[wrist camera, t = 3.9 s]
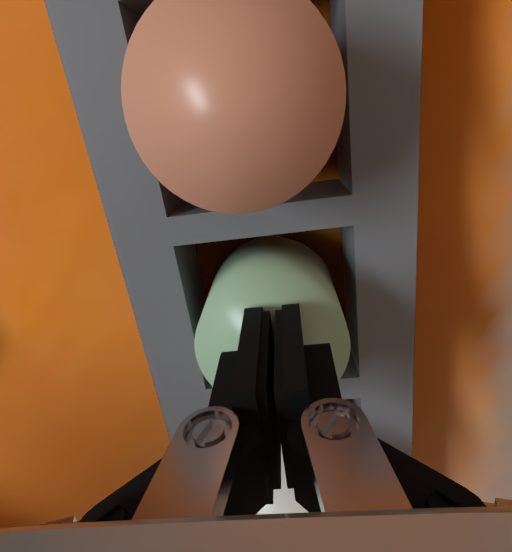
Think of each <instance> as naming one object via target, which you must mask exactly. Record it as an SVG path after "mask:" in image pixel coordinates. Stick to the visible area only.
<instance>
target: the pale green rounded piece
mask: <svg viewBox="0 0 512 552" xmlns="http://www.w3.org/2000/svg"><path fill="white" fill-rule="evenodd" d="M296 303H299V306H300V316H301V325H302V335H303V344H304V345H310V344H322V343H330V346H331V351H332V355H333V360H334V365H335V369H336V374H337V379H338V381H339V379H340V378H341V377H342V375H343V373H344V371H345V369H346V367H347V364H348V361H349V356H350V345H351V343H350V335H349V331H348V328H347V324H346V321H345V318H344V315H343V312H342V309H341V306H340V303H339V300H338V297H337V294H336V291H335V288H334V285H333V281H332V278H331V275H330V273H329V270H328V268H327V266H326V265H325V263H324V262H323V260H322V259H321V258H320V257H319V256H318V254H316V253H315V252H314V251H313V250H312V249H310V248H309V247H307V246H306V245H304V244H302V243H300V242H298V241H295V240H292V239H289V238H284V237H275V236H272V237H262V238H257V239H253V240H250V241H248V242H246V243H243V244H241V245H240V246H238V247H237V248H235V249H234V250H233V251H232V252H230V253H229V254H228V255H227V257H226V258H225V259H224V260H223V262H222V263H221V265H220V266H219V268H218V270H217V273H216V275H215V278H214V281H213V284H212V286H211V289H210V292H209V295H208V298H207V300H206V303H205V306H204V309H203V311H202V314H201V317H200V320H199V322H198V326H197V329H196V333H195V339H194V348H195V355H196V359H197V362H198V365H199V367H200V370H201V372H202V373H203V375H204V376H205V378H206V380H207V381H208V382H209V383H210V384H211V385H212V387H213V384H214V379H215V375H216V371H217V367H218V362H219V358H220V355H221V353H222V352H227V351H237V350H238V344H239V338H240V332H241V326H242V320H243V314H244V309H245V308H254V307H263V311H270V315H271V322H272V329H273V337H274V338H275V310H282V305H285V304H296Z"/></svg>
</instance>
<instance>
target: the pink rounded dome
mask: <svg viewBox="0 0 512 552" xmlns="http://www.w3.org/2000/svg"><path fill="white" fill-rule="evenodd" d="M121 98H122V107H123V113H124V118H125V122H126V125H127V129H128V132H129V135H130V137H131V140H132V142H133V144H134V146H135V149H136V150H137V152H138V154H139V156H140V157H141V159H142V161H143V162H144V164H145V165H146V166H147V168H148V169H149V170H150V172H151V173H152V174H153V175H154V176H155V177H156V178H157V179H158V180H159V182H160V183H161V184H162V185H164V186H165V187H166V188H167V189H168V190H170V191H171V192H172V193H174V194H175V195H177V196H178V197H180V198H181V199H183V200H184V201H187V202H189V203H191V204H193V205H195V206H197V207H200V208H203V209H206V210H209V211H214V212H219V213H226V214H247V213H253V212H259V211H263V210H266V209H269V208H272V207H275V206H277V205H279V204H281V203H283V202H285V201H287V200H289V199H290V198H292V197H293V196H295V195H296V194H298V193H299V192H300V191H301V190H303V189H304V188H305V187H306V186H307V185H309V183H310V182H311V181H312V180H313V179H314V178H315V177H316V176H317V175H318V174H319V172H320V171H321V169H322V168H323V167H324V165H325V164H326V162H327V161H328V159H329V157H330V155H331V153H332V152H333V150H334V148H335V145H336V143H337V140H338V137H339V135H340V131H341V128H342V124H343V120H344V113H345V106H346V80H345V70H344V66H343V62H342V57H341V53H340V50H339V48H338V45H337V42H336V39H335V37H334V35H333V33H332V31H331V29H330V27H329V25H328V24H327V22H326V20H325V19H324V18H323V16H322V15H321V13H320V12H319V10H318V9H317V8H316V7H315V6H314V5H313V3H312V2H311V1H310V0H154V1H153V2H152V3H151V4H150V6H149V7H148V8H147V9H146V10H145V12H144V13H143V15H142V17H141V18H140V20H139V21H138V23H137V25H136V27H135V29H134V31H133V33H132V35H131V38H130V40H129V43H128V46H127V49H126V53H125V56H124V62H123V68H122V76H121Z"/></svg>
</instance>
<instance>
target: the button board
mask: <svg viewBox="0 0 512 552" xmlns="http://www.w3.org/2000/svg"><path fill="white" fill-rule="evenodd" d="M153 1H154V0H44V2H45V5H46V9H47V12H48V16H49V19H50V23H51V26H52V30H53V33H54V37H55V40H56V44H57V47H58V51H59V54H60V57H61V61H62V64H63V68H64V71H65V75H66V78H67V82H68V85H69V89H70V92H71V96H72V99H73V103H74V106H75V110H76V113H77V117H78V120H79V124H80V127H81V131H82V134H83V138H84V141H85V145H86V148H87V152H88V155H89V159H90V162H91V165H92V169H93V172H94V176H95V179H96V183H97V186H98V190H99V193H100V197H101V200H102V204H103V207H104V211H105V214H106V218H107V221H108V225H109V228H110V232H111V235H112V239H113V242H114V246H115V249H116V253H117V256H118V260H119V263H120V267H121V270H122V273H123V277H124V280H125V284H126V287H127V291H128V294H129V298H130V301H131V305H132V308H133V312H134V315H135V319H136V322H137V326H138V329H139V333H140V336H141V340H142V343H143V347H144V350H145V354H146V357H147V361H148V364H149V368H150V371H151V375H152V378H153V382H154V385H155V388H156V392H157V395H158V399H159V402H160V406H161V409H162V413H163V416H164V420H165V423H166V427H167V430H168V434H169V437H170V441H171V440H172V438H173V436H174V434H175V432H176V430H177V428H178V427H179V425H180V424H181V422H182V421H183V420H184V419H185V418H186V417H187V416H188V415H189V414H191V413H193V412H195V411H197V410H198V409H202V408H205V407H208V405H209V401H210V396H211V392H212V388H213V387H212V385H211V384H210V383H209V382H208V381H207V380H206V378H205V376H204V375H203V373H202V372H201V370H200V367H199V365H198V362H197V359H196V355H195V348H194V339H195V333H196V329H197V326H198V322H199V320H200V317H201V314H202V311H203V309H204V306H205V303H206V300H207V299H206V294H205V289H204V284H203V279H202V274H201V269H200V264H199V259H198V254H197V250H196V245H195V244H198V243H207V242H215V241H224V240H233V239H241V238H250V237H259V236H267V235H276V234H285V233H294V232H302V231H311V230H320V229H328V228H337V227H341V235H342V254H343V273H344V292H345V311H346V324H347V328H348V331H349V335H350V343H351V345H350V356H349V361H348V364H347V367H346V369H345V371H344V373H343V375H342V377H341V378H340V379H339V381H338V383H339V388H340V392H341V397H342V399H350V402H353V403H354V404H356V405H357V406H358V407H360V408H361V409H362V411H363V412H364V413H365V415H366V417H367V419H368V421H369V423H370V425H371V427H372V429H373V431H374V433H375V435H376V437H377V438H379V439H380V440H382V441H384V442H386V443H387V444H389V445H391V446H393V447H394V448H396V449H398V450H400V451H401V452H403V453H405V454H407V455H408V456H410V457H412V424H413V385H414V345H415V305H416V265H417V225H418V185H419V146H420V106H421V66H422V26H423V0H329V5H330V24H331V31H332V33H333V35H334V37H335V39H336V42H337V45H338V48H339V50H340V53H341V57H342V62H343V66H344V70H345V80H346V106H345V113H344V120H343V124H342V128H341V131H340V135H339V137H338V140H337V158H338V177H339V179H334V180H327V181H319V182H311V183H309V185H307V186H306V187H305V188H304V189H303V190H301V191H300V192H299V193H298V194H296V195H295V196H293V197H292V198H290V199H289V200H287V201H285V202H283V203H281V204H279V205H277V206H275V207H272V208H269V209H266V210H263V211H259V212H253V213H247V214H226V213H219V212H214V211H209V210H206V209H203V208H200V207H197V206H195V205H193V204H191V203H189V202H187V201H184V200H183V199H181V198H180V197H178V196H177V195H175V194H174V193H172V192H171V191H170V190H168V189H167V188H166V187H165V186H164V185H162V184H161V183H160V182H159V180H158V179H157V178H156V177H155V176H154V175H153V174H152V173H151V172H150V170H149V169H148V168H147V166H146V165H145V164H144V162H143V161H142V159H141V157H140V156H139V154H138V152H137V150H136V149H135V146H134V144H133V142H132V140H131V137H130V135H129V132H128V129H127V125H126V122H125V118H124V113H123V107H122V98H121V76H122V68H123V62H124V56H125V53H126V49H127V46H128V43H129V40H130V38H131V35H132V33H133V31H134V29H135V27H136V25H137V23H138V21H139V20H140V18H141V17H142V15H143V13H144V12H145V10H146V9H147V8H148V7H149V6H150V4H151V3H152V2H153Z"/></svg>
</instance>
